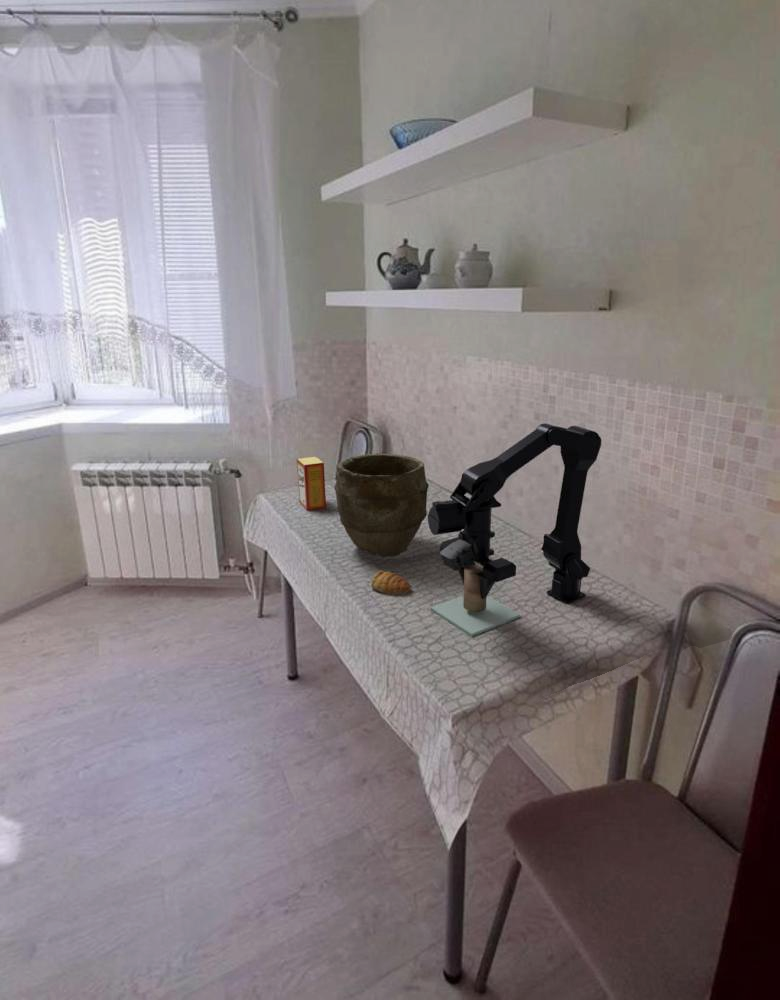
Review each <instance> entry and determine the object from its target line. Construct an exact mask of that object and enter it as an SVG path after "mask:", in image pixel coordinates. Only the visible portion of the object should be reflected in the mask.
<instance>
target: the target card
mask: <svg viewBox="0 0 780 1000" xmlns="http://www.w3.org/2000/svg"><path fill="white" fill-rule="evenodd" d="M463 603H464V595H460V596H459V597H456V598H453V599H450V600H448V601H447V600H446V601H444V602H441V603H439V604H435V605H433V606H430V609H429V610H430V611H432V612H433V613H434V614H436V615H438V616H439V617H440V618H441V619H442V618H443V619H444V620H446V621H447V622H448V623H450V624H452V625H453V626H455V627H456V628H458V629H459V630H461V631H463V632H464V633H466V634H467V635H468V636H470V637H473V636H476V635H479V634H481V633H484V632H486V631H488V630H491V629H494V628H496V627H498V625H499V626H501V625H504V624H506V623H509V622H511V621H513V620H515V619H518V618H521V614H520V613H519V612H516V611H515V610H513V609H511V608H510V607H508V606H506V605H504V604H503V603H501V602H498V601H497V600H495V599H493V598H491V597H489V596H488V595H487V598H486V609H485V610H483V611H480V612H472V611H468V610H466V609H465V608H464V607H463Z"/></svg>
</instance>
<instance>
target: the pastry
mask: <svg viewBox="0 0 780 1000" xmlns="http://www.w3.org/2000/svg"><path fill="white" fill-rule="evenodd" d="M370 585H371V587H372V588H373V590H374V591H376V592H379V593H381V594H388V595H394V596H395V595H396V596H399V595H405V594H408V593H409V591H410V589H411V587H412V586H411V583H409V582H408V581H407V579H406V578H403V577H402V576H401V575H398V574H397V573H396V572H393V573H392V572H391V571H387V572H385V571H384V570H379V571H376V572H375V574H374V576H373V577H372V579H371V584H370Z"/></svg>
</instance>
